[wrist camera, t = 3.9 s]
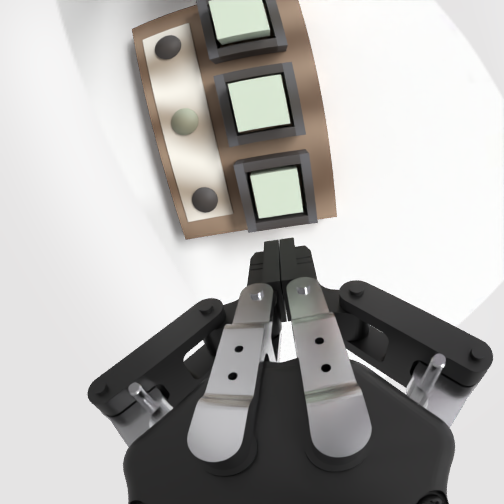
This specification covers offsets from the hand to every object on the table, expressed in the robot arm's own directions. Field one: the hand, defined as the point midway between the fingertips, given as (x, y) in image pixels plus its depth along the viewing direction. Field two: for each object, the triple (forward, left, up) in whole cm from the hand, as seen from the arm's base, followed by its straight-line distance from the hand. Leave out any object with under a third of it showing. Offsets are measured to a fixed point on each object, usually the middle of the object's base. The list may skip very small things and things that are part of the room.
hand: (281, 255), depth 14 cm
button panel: (-8, -3, -16) cm, 18 cm away
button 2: (0, 0, -13) cm, 13 cm away
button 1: (-16, 0, -11) cm, 19 cm away
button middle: (-8, 0, -11) cm, 14 cm away
